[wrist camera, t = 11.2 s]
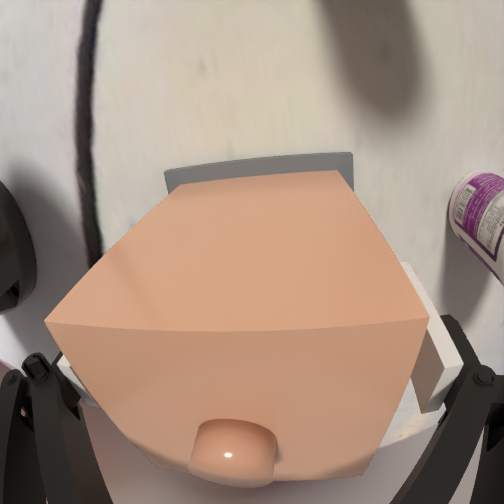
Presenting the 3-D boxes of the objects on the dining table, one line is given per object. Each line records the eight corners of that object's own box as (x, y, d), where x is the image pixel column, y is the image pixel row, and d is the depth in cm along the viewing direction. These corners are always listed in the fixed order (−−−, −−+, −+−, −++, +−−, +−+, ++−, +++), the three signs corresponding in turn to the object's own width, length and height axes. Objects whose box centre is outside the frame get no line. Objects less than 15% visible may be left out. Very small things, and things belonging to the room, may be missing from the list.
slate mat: (201, 312, 23) (199, 317, 22) (167, 169, 18) (163, 172, 17) (348, 306, 21) (349, 311, 21) (350, 152, 16) (352, 153, 15)
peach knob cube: (208, 308, 22) (148, 491, 9) (180, 184, 17) (16, 355, 5) (337, 302, 20) (364, 502, 8) (337, 170, 16) (454, 368, 4)
